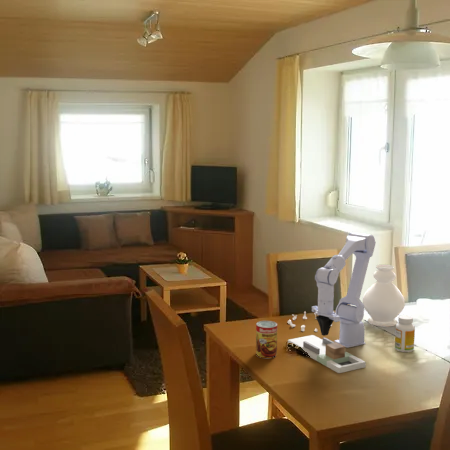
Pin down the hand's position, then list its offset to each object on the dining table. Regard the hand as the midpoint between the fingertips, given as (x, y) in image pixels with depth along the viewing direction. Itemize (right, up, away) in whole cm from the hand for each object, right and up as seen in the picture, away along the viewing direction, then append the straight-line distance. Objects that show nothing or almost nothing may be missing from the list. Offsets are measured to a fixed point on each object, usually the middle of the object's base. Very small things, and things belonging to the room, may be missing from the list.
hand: (324, 334), depth 237 cm
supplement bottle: (+32, -7, +7) cm, 33 cm away
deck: (0, -8, +1) cm, 8 cm away
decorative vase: (+31, -1, +40) cm, 51 cm away
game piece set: (-1, -2, +36) cm, 36 cm away
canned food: (-22, -8, +2) cm, 23 cm away
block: (+3, -7, -5) cm, 9 cm away
